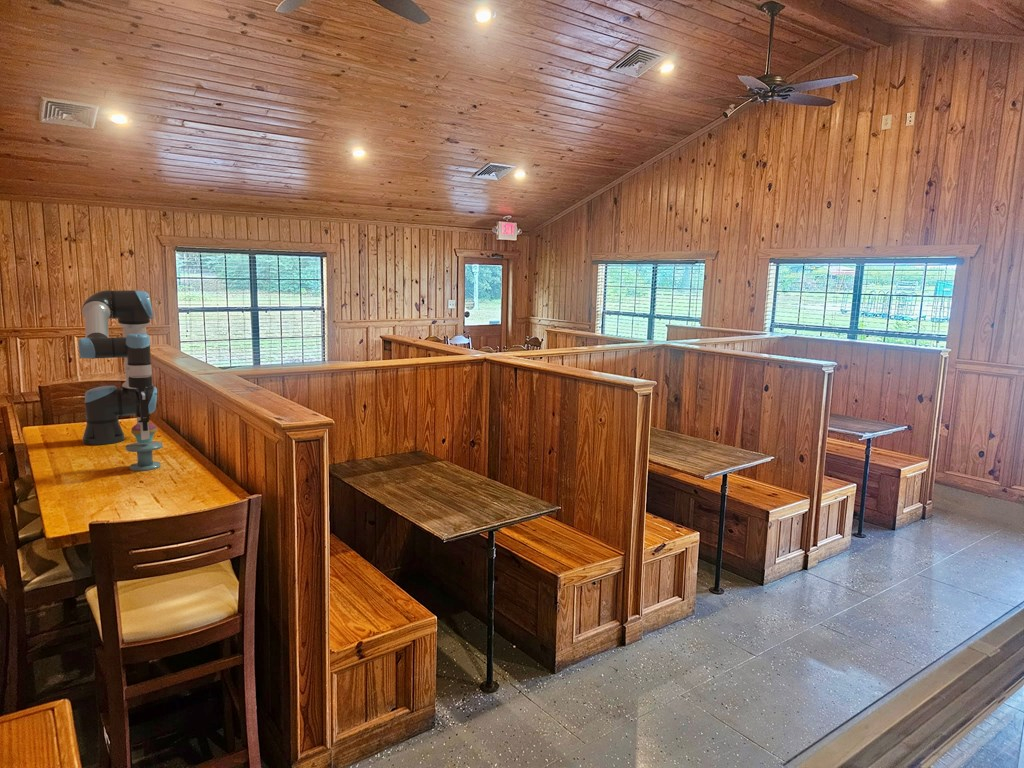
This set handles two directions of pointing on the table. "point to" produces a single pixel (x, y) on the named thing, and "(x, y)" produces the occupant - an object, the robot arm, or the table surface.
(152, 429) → the cupcake
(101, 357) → the robot arm
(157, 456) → the table surface
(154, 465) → the cake stand
